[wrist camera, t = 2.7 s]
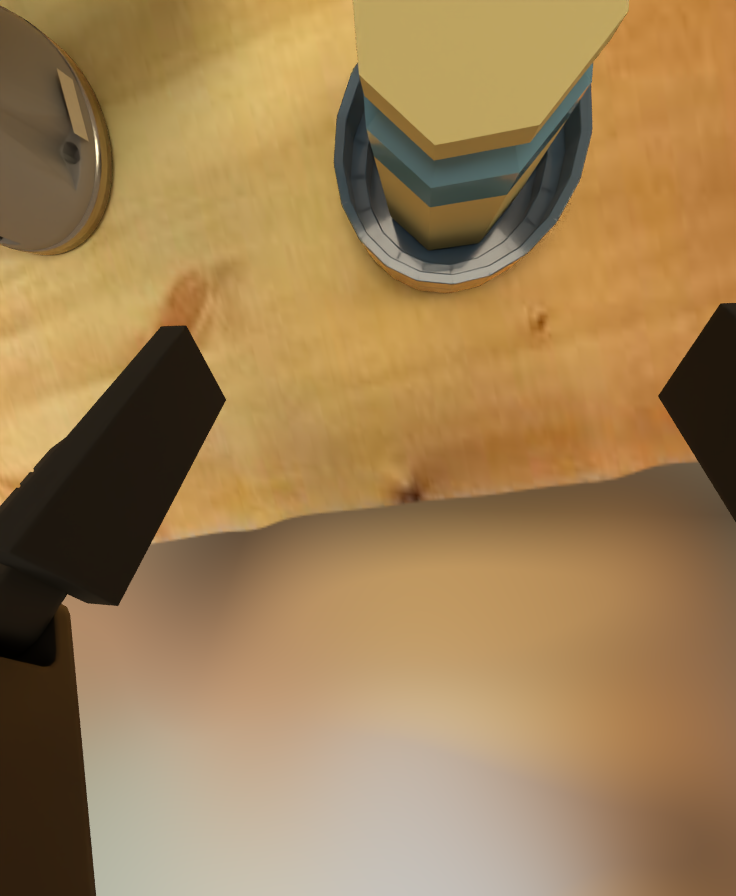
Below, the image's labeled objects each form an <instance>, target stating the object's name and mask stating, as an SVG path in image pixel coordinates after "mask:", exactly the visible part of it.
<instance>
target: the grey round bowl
mask: <svg viewBox="0 0 736 896" xmlns="http://www.w3.org/2000/svg"><path fill="white" fill-rule="evenodd" d="M591 134H592V100H591V84H590V85H589V87H588V88H587V90H586V91H585V93H584V94H583V96H582V97H581V99H580V101H579V102H578V104H577V105H576V107H575V108H574V110H573V111H572V113H571V114H570V116H569V117H568V119H567V120H566V122H565V123H564V125H563V127H562V128H561V130H560V131H559V133H558V134H557V136H556V137H555V139H554V140H553V142H552V143H551V145H550V146H549V148H548V149H547V151H546V153H545V154H544V156H543V157H542V159H541V160H540V162H539V163H538V165H537V166H536V168H535V169H534V171H533V172H532V174H531V175H530V177H529V179H528V180H527V182H526V183H525V185H524V186H523V188H522V189H521V191H520V192H519V194H518V195H517V197H516V198H515V199H514V200H513V202H512V203H511V204H510V205H509V207H508V208H507V209H506V210H505V212H504V213H503V214H502V215H501V216H500V218H499V219H498V220H497V221H496V223H495V224H494V225H493V226H492V228H491V229H490V230H489V231H488V233H487V234H486V235H485V236H484V237H483V239H482V240H481V241H480V242H479V243H476V244H469V245H462V246H455V247H448V248H441V249H435V250H427V249H426V248H425V247H424V246H423V245H422V244H420V243H419V242H418V241H417V240H416V239H415V238H414V237H413V236H412V235H410V234H409V233H408V232H407V231H406V230H405V229H404V228H403V227H402V226H401V225H399V224H398V223H397V222H396V221H395V220H394V219H393V218H392V217H391V216H390V212H389V209H388V205H387V201H386V198H385V194H384V191H383V187H382V183H381V180H380V176H379V173H378V169H377V165H376V162H375V158H374V155H373V151H372V148H371V144H370V140H369V137H368V133H367V130H366V120H365V108H364V96H363V89H362V85H361V81H360V77H359V69H358V63H357V64H356V66H355V68H354V69H353V71H352V73H351V76H350V79H349V82H348V85H347V88H346V91H345V94H344V97H343V100H342V103H341V106H340V109H339V112H338V115H337V121H336V136H335V150H334V168H335V173H336V179H337V184H338V189H339V194H340V199H341V204H342V207H343V209H344V211H345V213H346V215H347V217H348V219H349V221H350V223H351V224H352V226H353V228H354V230H355V232H356V234H357V236H358V238H359V240H360V241H361V243H362V244H363V246H364V247H365V249H366V250H367V252H368V253H369V255H370V256H371V257H372V258H373V259H374V260H375V261H376V262H377V263H378V264H379V265H380V266H381V267H382V268H383V269H384V270H385V271H386V272H387V273H388V274H389V275H390V276H391V277H392V278H394V279H396V280H398V281H400V282H402V283H404V284H406V285H409V286H411V287H413V288H415V289H417V290H421V291H431V292H440V293H452V292H457V291H461V290H465V289H469V288H474V287H478V286H481V285H482V284H484V283H486V282H487V281H489V280H491V279H492V278H494V277H496V276H498V275H499V274H501V273H503V272H504V271H506V270H508V269H509V268H510V267H511V266H513V265H514V264H515V263H516V262H518V261H519V260H520V259H521V258H522V257H524V256H525V255H526V254H527V253H528V252H529V251H530V250H531V249H532V248H533V247H534V246H535V245H536V244H537V243H538V242H539V241H540V240H541V239H542V237H543V236H544V235H545V234H546V233H547V232H548V231H549V230H550V229H551V228H552V227H553V226H554V225H555V224H556V222H557V221H558V219H559V218H560V216H561V214H562V212H563V210H564V208H565V207H566V205H567V203H568V201H569V199H570V198H571V196H572V194H573V192H574V190H575V188H576V187H577V185H578V183H579V181H580V178H581V175H582V171H583V167H584V163H585V159H586V155H587V151H588V147H589V143H590V139H591Z"/></svg>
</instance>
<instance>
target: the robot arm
mask: <svg viewBox="0 0 736 896" xmlns="http://www.w3.org/2000/svg"><path fill="white" fill-rule="evenodd" d="M111 181H112V155H111V146H110V139H109V134H108V130H107V126H106V123H105V119H104V116H103V113H102V110H101V108H100V105H99V103H98V100H97V98H96V96H95V94H94V92H93V90H92V88H91V86H90V84H89V83H88V81H87V79H86V78H85V76H84V75H83V73H82V72H81V70H80V69H79V67H78V66H77V65H76V64H75V62H74V61H73V60H72V59H71V58H70V57H69V55H68V54H67V53H66V52H65V51H64V50H63V49H62V48H61V47H59V46H58V45H57V44H56V43H55V42H54V41H52V40H51V39H50V38H49V37H47V36H46V35H45V34H44V33H42V32H41V31H40V30H39V29H37V28H36V27H35V26H33V25H32V24H31V23H29V22H28V21H27V20H25V19H23V18H22V17H20V16H18V15H16V14H15V13H13V12H11V11H9V10H8V9H6V8H4V7H2V6H0V244H1V245H3V246H6V247H9V248H11V249H16V250H20V251H25V252H29V253H34V254H40V255H54V254H60V253H64V252H67V251H69V250H72V249H74V248H75V247H77V246H79V245H80V244H81V243H83V242H84V241H85V240H86V239H87V238H88V237H89V236H90V235H91V234H92V233H93V231H94V230H95V229H96V227H97V226H98V224H99V222H100V221H101V218H102V216H103V214H104V212H105V209H106V206H107V203H108V199H109V195H110V189H111ZM658 397H659V398H660V400H661V402H662V403H663V405H664V407H665V408H666V410H667V411H668V413H669V415H670V416H671V418H672V420H673V421H674V423H675V424H676V426H677V428H678V429H679V431H680V432H681V434H682V436H683V437H684V439H685V441H686V442H687V444H688V445H689V447H690V449H691V450H692V452H693V454H694V455H695V457H696V458H697V460H698V462H699V463H700V465H701V466H702V468H703V470H704V471H705V473H706V475H707V476H708V478H709V479H710V481H711V483H712V484H713V486H714V488H715V489H716V491H717V492H718V494H719V496H720V497H721V499H722V500H723V502H724V504H725V505H726V507H727V509H728V510H729V512H730V514H731V515H732V517H733V518H734V520H735V522H736V303H723V304H720V305H719V306H718V308H717V309H716V311H715V312H714V314H713V315H712V317H711V318H710V320H709V321H708V323H707V324H706V326H705V327H704V329H703V330H702V332H701V333H700V335H699V336H698V338H697V339H696V341H695V342H694V344H693V345H692V347H691V348H690V350H689V351H688V352H687V354H686V355H685V357H684V358H683V360H682V361H681V363H680V364H679V366H678V367H677V369H676V370H675V372H674V373H673V375H672V376H671V378H670V379H669V381H668V382H667V384H666V385H665V387H664V388H663V390H662V391H661V393H660V394H659V396H658ZM225 401H226V399H225V397H224V395H223V393H222V391H221V389H220V387H219V386H218V384H217V382H216V380H215V378H214V376H213V374H212V373H211V371H210V369H209V367H208V365H207V363H206V361H205V360H204V358H203V356H202V354H201V352H200V350H199V348H198V346H197V345H196V343H195V341H194V339H193V337H192V335H191V333H190V332H189V330H188V328H187V326H162V327H160V329H159V330H158V331H157V332H156V333H155V334H154V336H153V337H152V338H151V339H150V340H149V341H148V343H147V344H146V345H145V346H144V347H143V348H142V350H141V351H140V352H139V353H138V354H137V355H136V357H135V358H134V359H133V360H132V361H131V362H130V363H129V365H128V366H127V367H126V368H125V369H124V370H123V372H122V373H121V374H120V375H119V376H118V377H117V379H116V380H115V381H114V382H113V383H112V384H111V386H110V387H109V388H108V389H107V390H106V391H105V393H104V394H103V395H102V396H101V397H100V398H99V400H98V401H97V402H96V403H95V404H94V405H93V407H92V408H91V409H90V410H89V411H88V412H87V414H86V415H85V416H84V417H83V418H82V419H81V421H80V422H79V423H78V424H77V425H76V426H75V427H74V429H73V430H72V431H71V432H70V433H69V434H68V436H67V437H66V438H64V439H63V440H62V441H60V442H59V443H58V444H56V445H55V446H54V447H52V448H51V449H50V450H49V451H48V452H47V453H46V454H45V456H44V457H43V458H42V459H41V460H40V461H39V462H38V464H37V465H36V466H35V467H34V468H33V469H34V472H30V473H29V474H28V475H27V476H26V477H25V478H24V480H23V481H22V482H21V483H20V485H21V486H20V488H16V489H15V490H14V491H13V492H12V493H11V494H10V496H9V497H8V498H7V499H6V500H5V501H4V503H3V504H2V505H1V506H0V896H96V890H95V879H94V869H93V858H92V847H91V837H90V827H89V814H88V803H87V793H86V782H85V772H84V760H83V749H82V738H81V728H80V718H79V706H78V696H77V685H76V673H75V663H74V652H73V641H72V630H71V620H70V613H69V611H68V608H67V607H66V606H64V605H62V604H61V603H62V601H63V600H64V599H65V597H66V595H67V594H68V595H71V596H73V597H75V598H77V599H80V600H81V601H84V602H86V603H91V604H103V605H114V606H118V605H119V603H120V601H121V599H122V597H123V595H124V594H125V592H126V590H127V588H128V586H129V584H130V582H131V580H132V578H133V576H134V575H135V573H136V571H137V569H138V567H139V565H140V563H141V561H142V559H143V557H144V555H145V554H146V551H147V550H148V547H149V546H150V544H151V542H152V540H153V538H154V536H155V534H156V533H157V531H158V529H159V527H160V525H161V523H162V521H163V519H164V517H165V515H166V513H167V512H168V510H169V508H170V506H171V504H172V502H173V500H174V498H175V496H176V494H177V492H178V491H179V489H180V487H181V485H182V483H183V481H184V479H185V477H186V475H187V473H188V471H189V470H190V468H191V466H192V464H193V462H194V460H195V458H196V456H197V454H198V452H199V450H200V449H201V447H202V445H203V443H204V441H205V439H206V437H207V435H208V433H209V431H210V429H211V428H212V426H213V424H214V422H215V420H216V418H217V416H218V414H219V412H220V410H221V408H222V407H223V405H224V403H225Z"/></svg>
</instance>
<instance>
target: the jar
mask: <svg viewBox="0 0 736 896" xmlns="http://www.w3.org/2000/svg"><path fill="white" fill-rule="evenodd" d="M628 8H629V0H353V10H354V22H355V33H356V45H357V57H358V69H359V77H360V81H361V85H362V89H363V96H364V108H365V120H366V130H367V133H368V137H369V140H370V144H371V148H372V151H373V155H374V158H375V162H376V165H377V169H378V173H379V176H380V180H381V183H382V187H383V191H384V194H385V198H386V201H387V205H388V209H389V212H390V216H391V217H392V218H393V219H394V220H395V221H396V222H397V223H398V224H399V225H401V226H402V227H403V228H404V229H405V230H406V231H407V232H408V233H409V234H410V235H412V236H413V237H414V238H415V239H416V240H417V241H418V242H419V243H420V244H422V245H423V246H424V247H425V248H426V249H427V250H435V249H441V248H448V247H455V246H462V245H469V244H476V243H479V242H480V241H481V240H482V239H483V237H484V236H485V235H486V234H487V233H488V231H489V230H490V229H491V228H492V226H493V225H494V224H495V223H496V221H497V220H498V219H499V218H500V216H501V215H502V214H503V213H504V212H505V210H506V209H507V208H508V207H509V205H510V204H511V203H512V202H513V200H514V199H515V198H516V197H517V195H518V194H519V192H520V191H521V189H522V188H523V186H524V185H525V183H526V182H527V180H528V179H529V177H530V175H531V174H532V172H533V171H534V169H535V168H536V166H537V165H538V163H539V162H540V160H541V159H542V157H543V156H544V154H545V153H546V151H547V149H548V148H549V146H550V145H551V143H552V142H553V140H554V139H555V137H556V136H557V134H558V133H559V131H560V130H561V128H562V127H563V125H564V123H565V122H566V120H567V119H568V117H569V116H570V114H571V113H572V111H573V110H574V108H575V107H576V105H577V104H578V102H579V101H580V99H581V97H582V96H583V94H584V93H585V91H586V90H587V88H588V87H589V85H590V84H591V82H592V71H593V62H594V60H595V59H596V58H597V56H598V55H599V54H600V53H601V51H602V50H603V49H604V47H605V46H606V45H607V44H608V42H609V41H610V40H611V38H612V36H613V35H614V33H615V32H616V30H617V28H618V27H619V25H620V24H621V22H622V20H623V19H624V17H625V16H626V14H627V12H628Z"/></svg>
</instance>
